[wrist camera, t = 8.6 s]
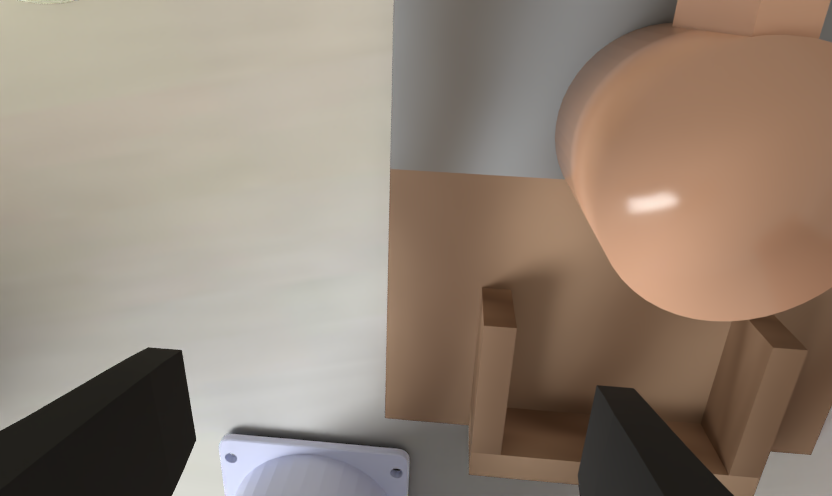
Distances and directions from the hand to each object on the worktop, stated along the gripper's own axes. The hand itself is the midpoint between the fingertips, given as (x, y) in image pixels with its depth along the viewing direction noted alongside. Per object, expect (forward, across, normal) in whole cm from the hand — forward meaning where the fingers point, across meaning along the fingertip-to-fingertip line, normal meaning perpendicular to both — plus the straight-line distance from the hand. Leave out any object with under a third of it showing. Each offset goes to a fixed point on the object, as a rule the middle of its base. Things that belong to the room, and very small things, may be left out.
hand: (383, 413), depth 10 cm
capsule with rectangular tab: (+10, -7, -5) cm, 13 cm away
